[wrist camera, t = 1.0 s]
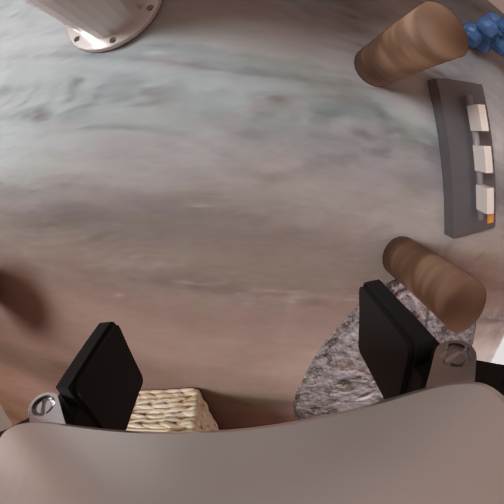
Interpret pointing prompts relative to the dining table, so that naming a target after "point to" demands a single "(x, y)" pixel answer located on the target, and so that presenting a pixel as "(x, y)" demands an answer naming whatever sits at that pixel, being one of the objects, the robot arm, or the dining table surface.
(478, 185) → the switch rocker
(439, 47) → the post inner
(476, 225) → the power strip
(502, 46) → the grapes
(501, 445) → the robot arm
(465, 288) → the post outer
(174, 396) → the storage basket
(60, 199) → the dining table surface
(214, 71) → the dining table surface
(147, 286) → the dining table surface
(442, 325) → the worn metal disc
